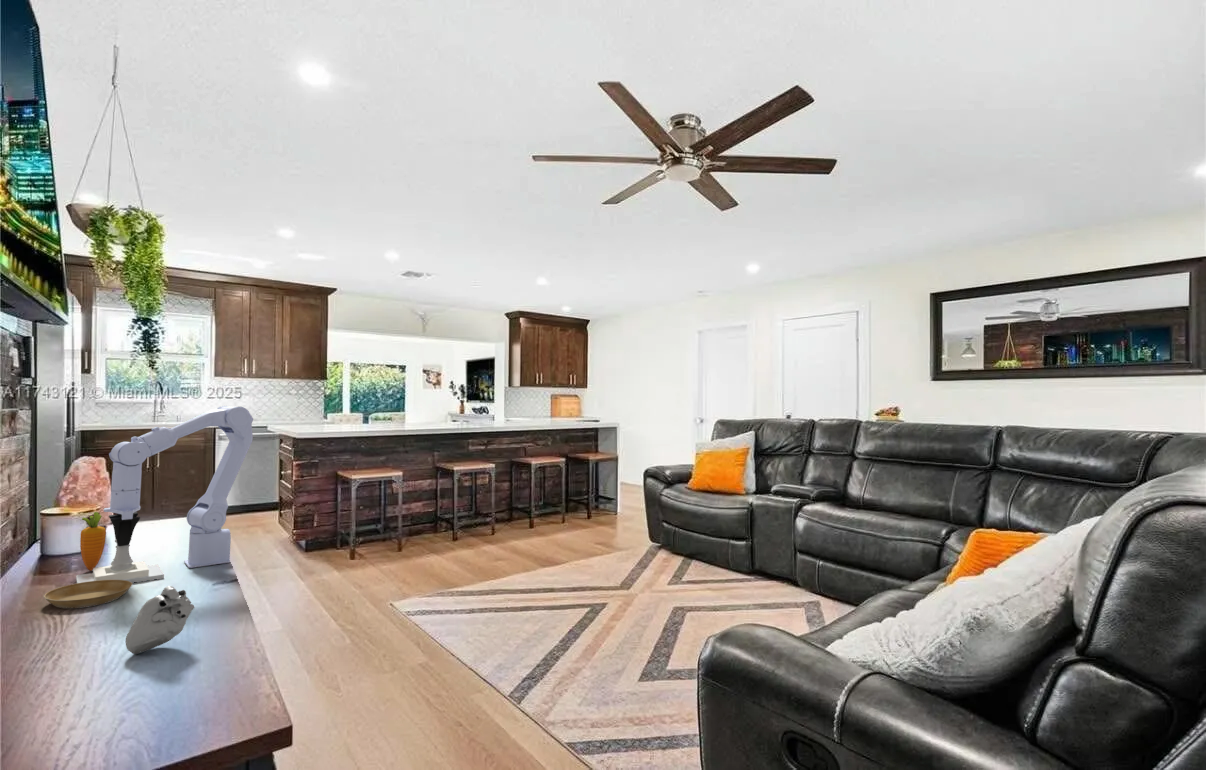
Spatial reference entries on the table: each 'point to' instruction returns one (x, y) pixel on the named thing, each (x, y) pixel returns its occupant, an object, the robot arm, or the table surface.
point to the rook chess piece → (121, 558)
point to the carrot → (92, 541)
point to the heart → (159, 620)
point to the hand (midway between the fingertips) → (122, 544)
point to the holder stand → (124, 573)
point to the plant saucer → (87, 593)
